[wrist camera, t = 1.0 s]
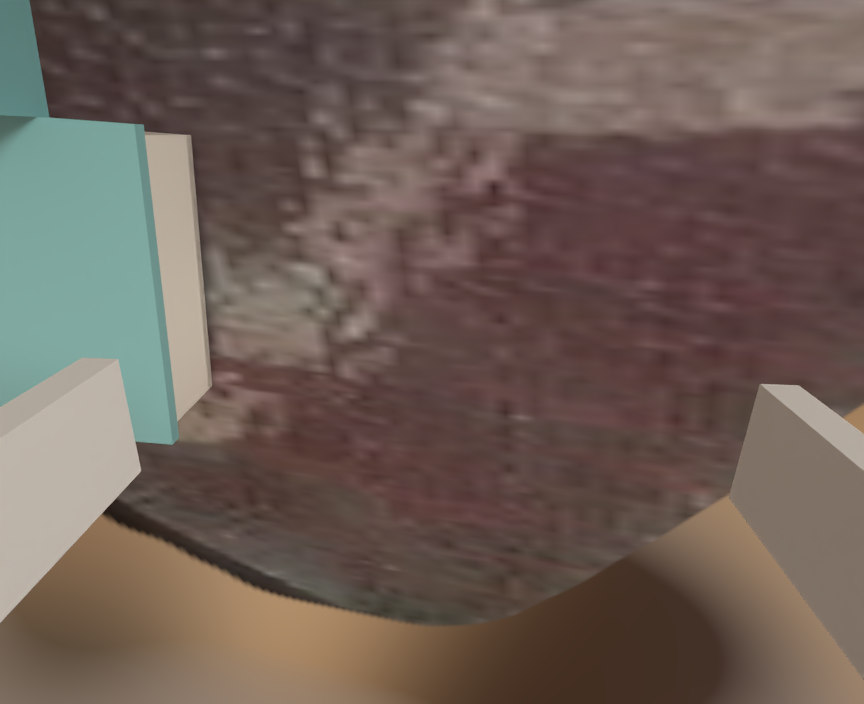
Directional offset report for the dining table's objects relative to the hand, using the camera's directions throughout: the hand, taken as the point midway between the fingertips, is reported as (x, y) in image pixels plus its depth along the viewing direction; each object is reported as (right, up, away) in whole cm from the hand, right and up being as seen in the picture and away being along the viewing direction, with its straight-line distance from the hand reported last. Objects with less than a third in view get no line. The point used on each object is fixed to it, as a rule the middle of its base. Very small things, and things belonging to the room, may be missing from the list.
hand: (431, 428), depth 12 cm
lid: (-20, +8, +16) cm, 27 cm away
